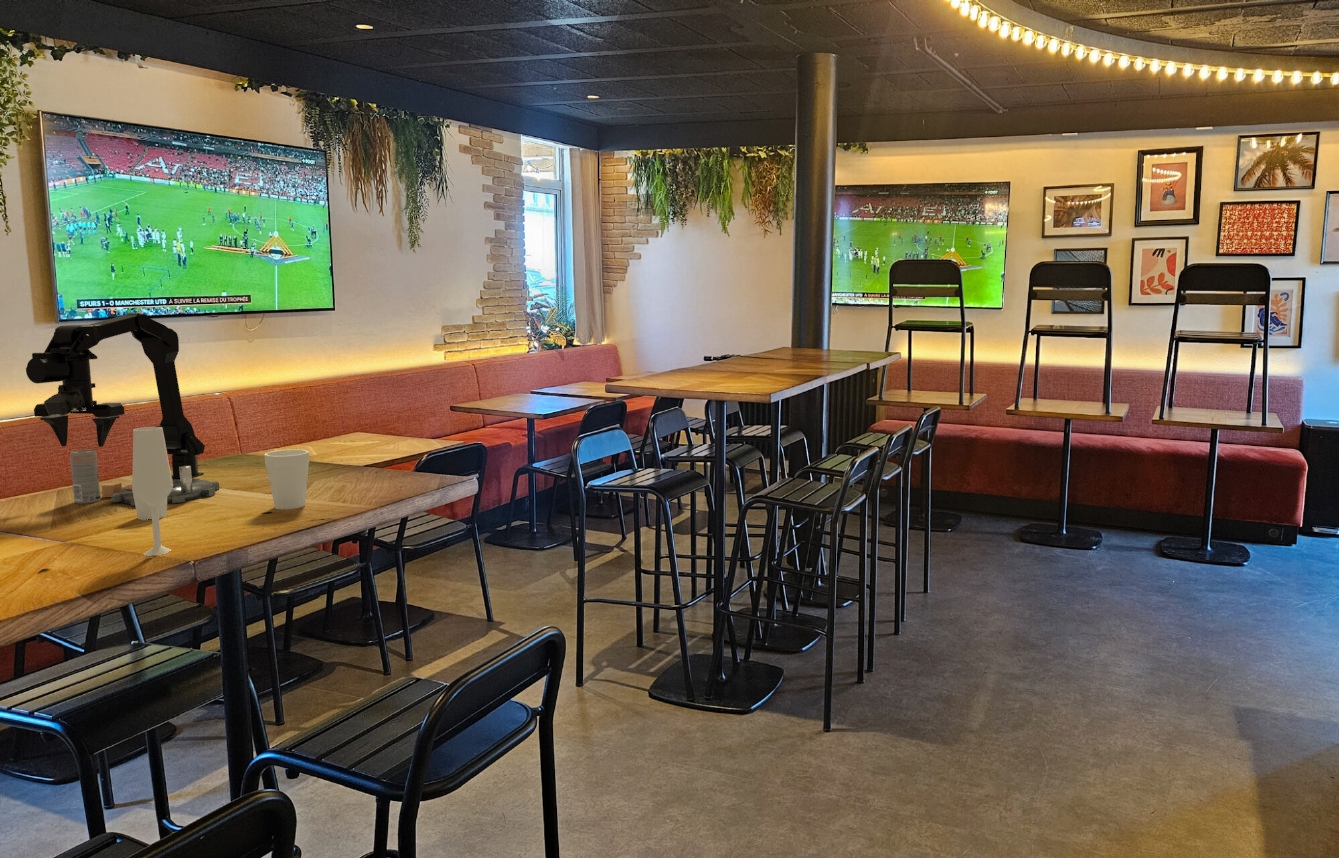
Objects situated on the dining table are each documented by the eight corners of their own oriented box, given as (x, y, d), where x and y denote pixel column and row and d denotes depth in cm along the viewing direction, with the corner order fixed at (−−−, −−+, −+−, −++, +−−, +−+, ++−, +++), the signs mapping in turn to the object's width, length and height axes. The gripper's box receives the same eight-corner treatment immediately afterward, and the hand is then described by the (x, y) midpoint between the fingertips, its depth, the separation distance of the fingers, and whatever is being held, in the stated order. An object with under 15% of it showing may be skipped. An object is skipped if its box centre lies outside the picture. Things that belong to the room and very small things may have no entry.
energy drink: (97, 498, 232) (92, 448, 231) (103, 501, 228) (99, 451, 227) (71, 501, 229) (66, 451, 227) (77, 505, 225) (72, 454, 223)
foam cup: (260, 509, 219) (257, 453, 217) (300, 503, 225) (296, 448, 224) (280, 516, 212) (276, 458, 210) (320, 509, 219) (316, 452, 217)
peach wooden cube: (110, 494, 236) (109, 482, 235) (122, 495, 236) (121, 483, 235) (102, 497, 233) (101, 485, 232) (114, 497, 233) (113, 485, 232)
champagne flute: (151, 550, 185) (140, 426, 181) (185, 551, 184) (175, 426, 181) (130, 560, 178) (119, 431, 175) (166, 560, 178) (155, 431, 174)
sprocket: (220, 482, 248) (217, 452, 247) (218, 500, 227) (216, 466, 226) (117, 490, 239) (115, 458, 237) (106, 509, 218) (103, 474, 217)
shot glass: (176, 515, 214) (174, 484, 213) (157, 522, 208) (154, 490, 207) (147, 514, 215) (145, 483, 214) (127, 521, 208) (124, 489, 207)
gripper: (12, 382, 217) (19, 451, 220) (90, 383, 216) (96, 452, 218) (48, 378, 228) (54, 444, 231) (123, 378, 227) (128, 444, 229)
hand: (82, 446), depth 227 cm, fingers open, 9 cm apart
